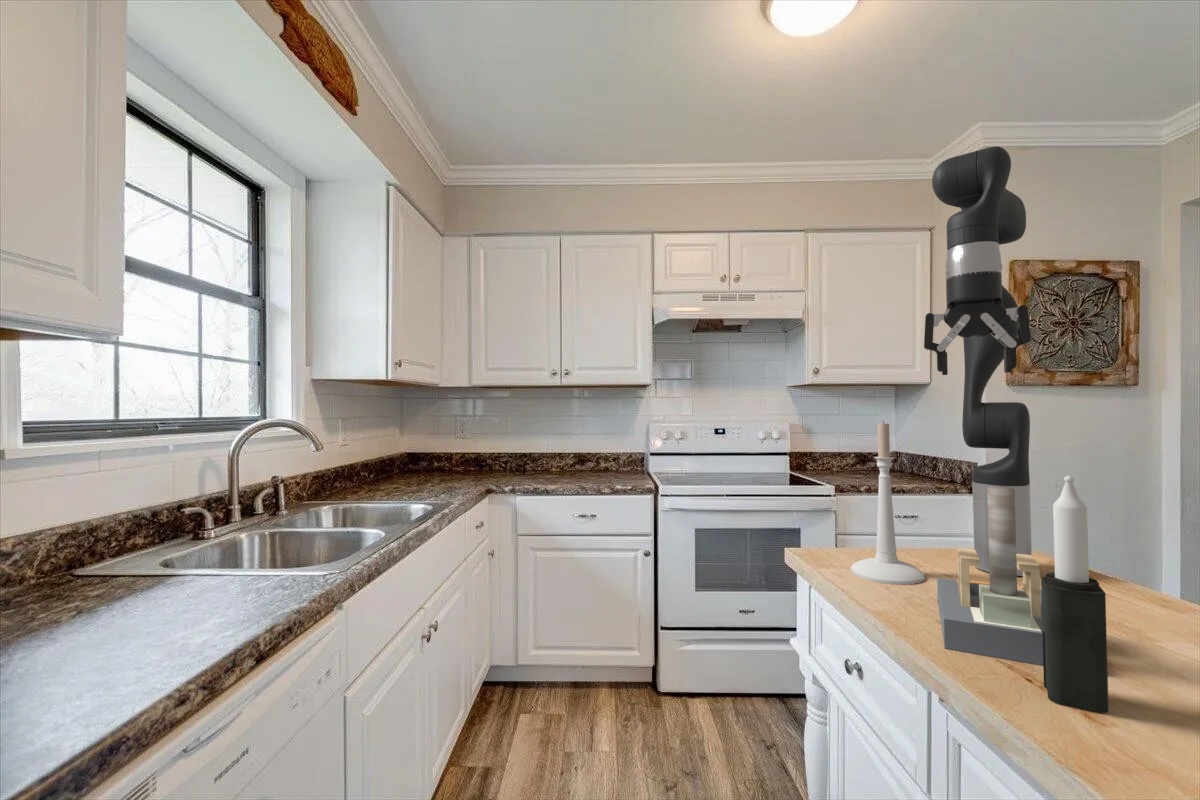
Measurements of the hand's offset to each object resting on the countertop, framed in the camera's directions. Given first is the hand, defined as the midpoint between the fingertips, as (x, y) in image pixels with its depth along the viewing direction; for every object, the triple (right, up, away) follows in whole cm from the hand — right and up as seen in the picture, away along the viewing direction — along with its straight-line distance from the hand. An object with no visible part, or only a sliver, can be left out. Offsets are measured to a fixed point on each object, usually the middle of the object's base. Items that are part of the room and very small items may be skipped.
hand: (975, 373), depth 89 cm
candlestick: (-5, -39, +18) cm, 43 cm away
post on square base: (-7, -34, -15) cm, 38 cm away
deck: (-3, -38, -10) cm, 39 cm away
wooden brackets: (-4, -34, -10) cm, 36 cm away
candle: (-8, -38, -28) cm, 48 cm away
